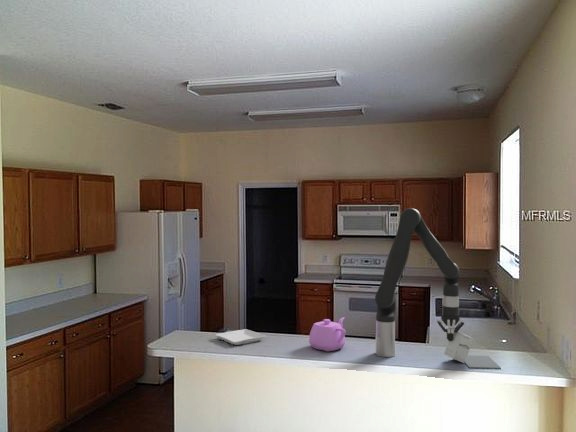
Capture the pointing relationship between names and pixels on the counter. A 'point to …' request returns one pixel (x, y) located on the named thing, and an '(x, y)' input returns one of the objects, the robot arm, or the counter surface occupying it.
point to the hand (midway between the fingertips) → (449, 340)
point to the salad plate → (240, 336)
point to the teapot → (327, 335)
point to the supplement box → (459, 347)
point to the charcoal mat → (481, 362)
